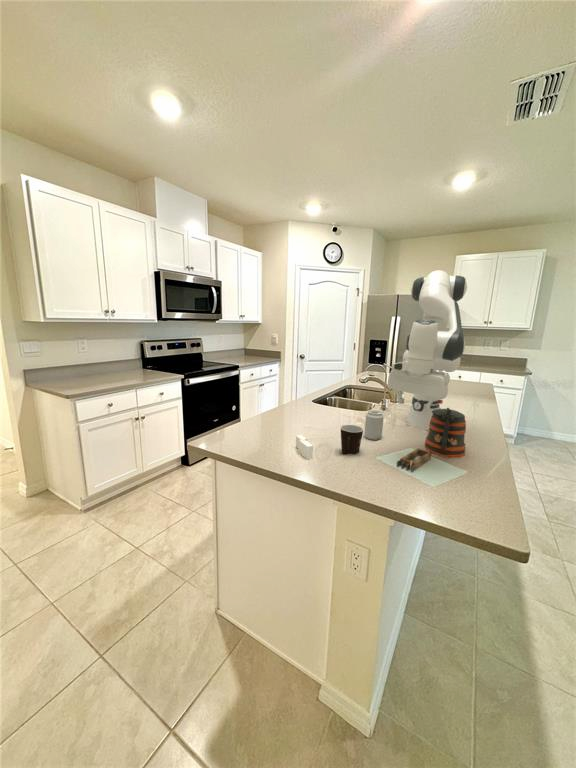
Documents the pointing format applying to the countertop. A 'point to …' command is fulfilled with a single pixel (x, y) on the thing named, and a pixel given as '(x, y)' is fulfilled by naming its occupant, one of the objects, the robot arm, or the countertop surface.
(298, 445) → the napkin holder
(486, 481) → the countertop surface
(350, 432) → the coffee mug
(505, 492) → the countertop surface
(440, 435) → the striped backpack
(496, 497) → the countertop surface
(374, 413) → the can
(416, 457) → the dark brown long piece
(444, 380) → the robot arm
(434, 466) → the wall panel
